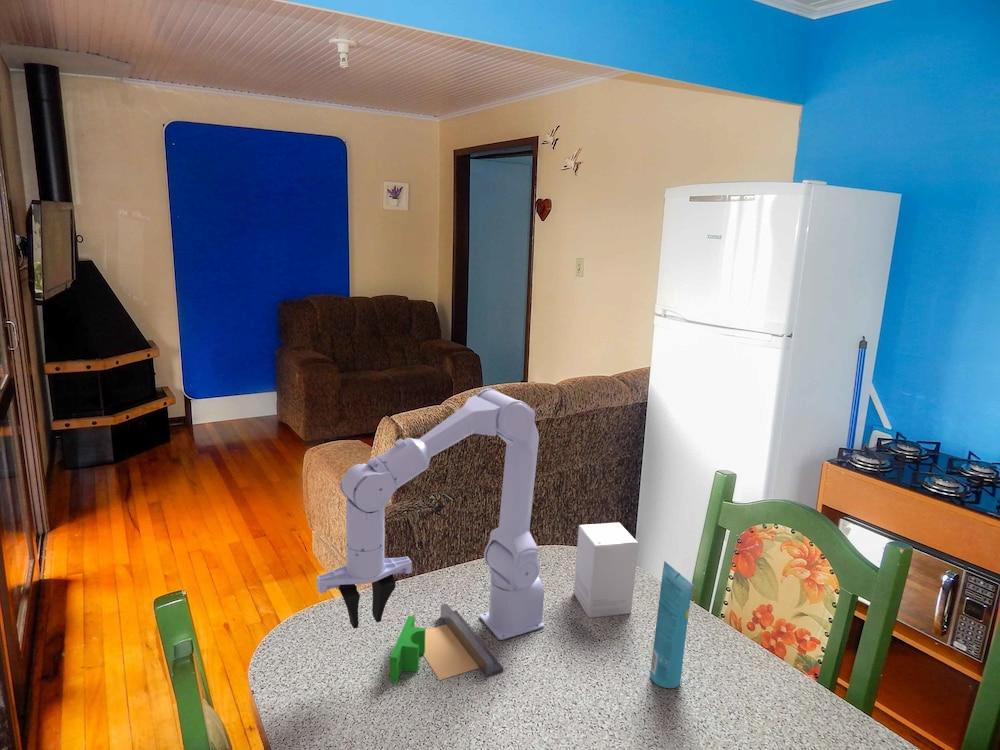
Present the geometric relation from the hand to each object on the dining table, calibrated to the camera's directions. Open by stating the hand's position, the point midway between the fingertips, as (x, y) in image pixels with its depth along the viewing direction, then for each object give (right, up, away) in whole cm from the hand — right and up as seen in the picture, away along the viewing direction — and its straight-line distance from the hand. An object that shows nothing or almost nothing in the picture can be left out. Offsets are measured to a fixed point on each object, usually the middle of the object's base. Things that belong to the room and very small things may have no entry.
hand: (365, 621), depth 102 cm
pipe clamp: (+6, -9, +6) cm, 12 cm away
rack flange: (+13, -8, +9) cm, 18 cm away
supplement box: (+41, -6, +25) cm, 48 cm away
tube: (+48, -11, +4) cm, 50 cm away
